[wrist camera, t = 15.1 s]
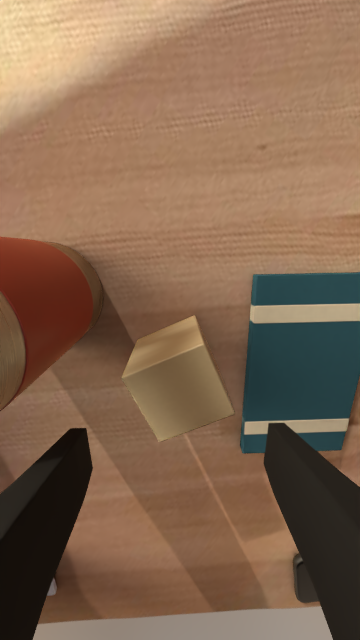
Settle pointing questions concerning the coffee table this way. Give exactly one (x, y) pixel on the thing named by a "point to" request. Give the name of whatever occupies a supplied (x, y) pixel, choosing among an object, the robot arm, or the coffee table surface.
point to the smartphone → (303, 582)
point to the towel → (302, 357)
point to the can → (41, 308)
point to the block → (176, 380)
